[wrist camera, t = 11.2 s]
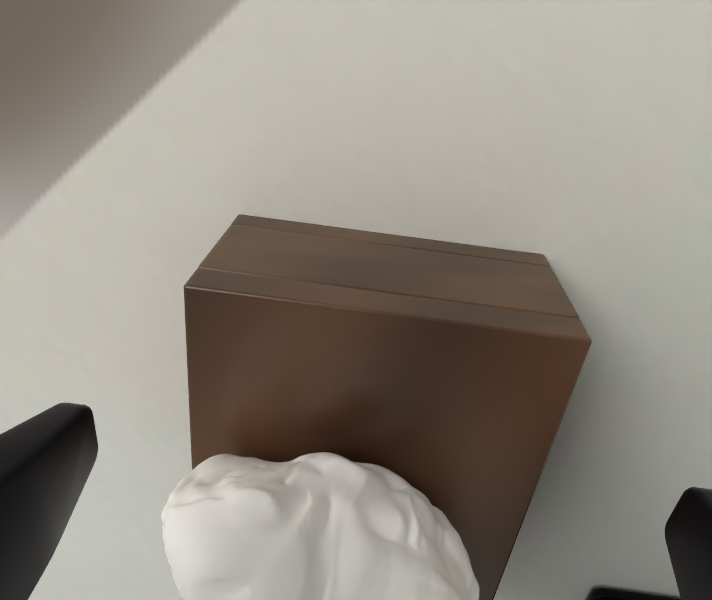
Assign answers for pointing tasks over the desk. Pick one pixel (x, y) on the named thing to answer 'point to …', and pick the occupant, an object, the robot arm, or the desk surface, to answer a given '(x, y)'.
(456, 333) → the walnut keepsake box
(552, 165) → the desk surface
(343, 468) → the bust
